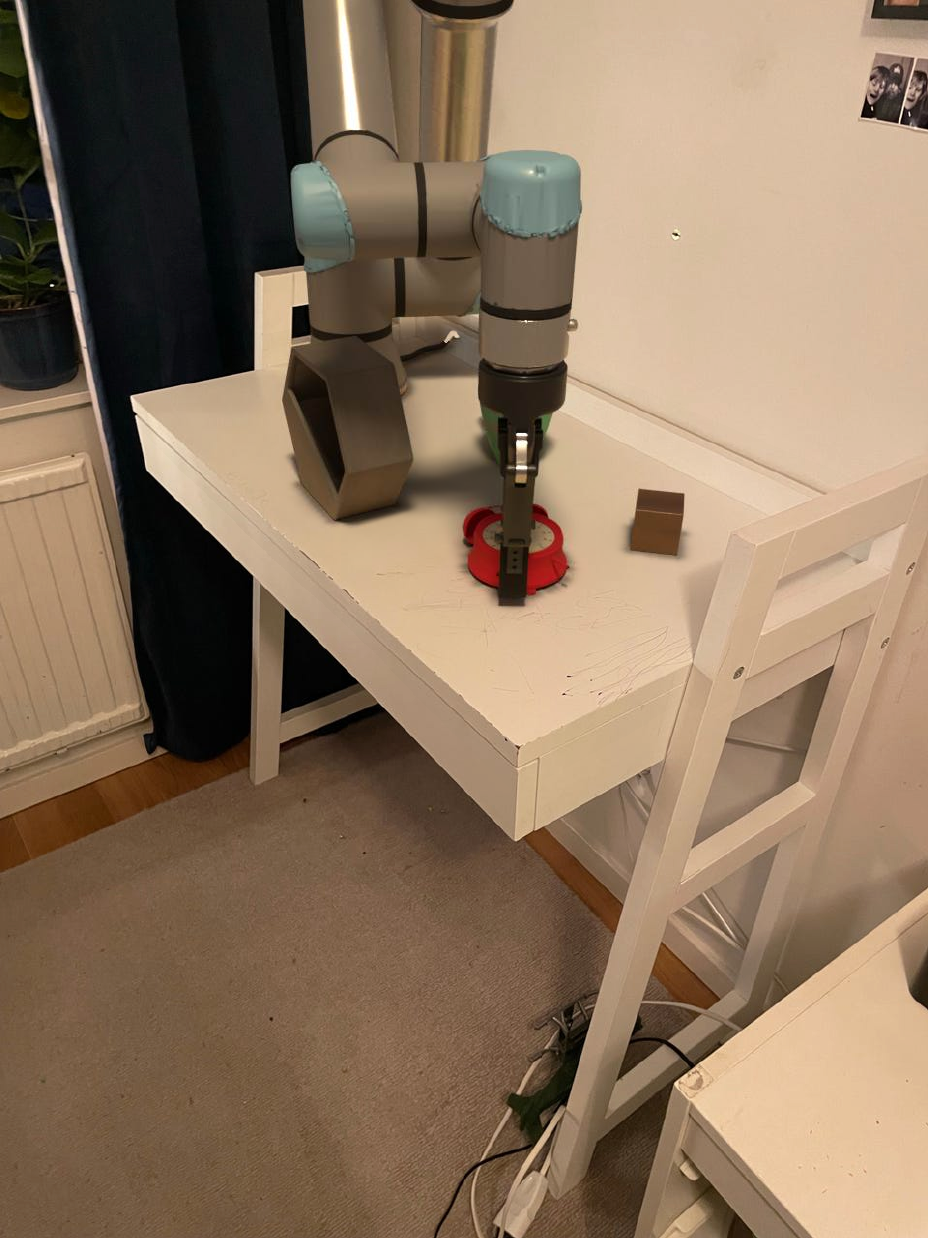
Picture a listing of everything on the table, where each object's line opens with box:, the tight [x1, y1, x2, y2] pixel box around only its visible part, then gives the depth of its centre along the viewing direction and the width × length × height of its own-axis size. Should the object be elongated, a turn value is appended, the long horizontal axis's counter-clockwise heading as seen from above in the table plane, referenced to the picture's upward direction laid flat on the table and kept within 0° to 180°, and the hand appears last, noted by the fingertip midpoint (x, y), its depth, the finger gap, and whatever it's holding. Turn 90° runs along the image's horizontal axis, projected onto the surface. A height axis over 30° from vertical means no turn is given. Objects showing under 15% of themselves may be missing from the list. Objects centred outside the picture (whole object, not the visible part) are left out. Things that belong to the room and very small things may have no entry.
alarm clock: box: [462, 502, 570, 596], centre depth 99 cm, size 10×6×15 cm
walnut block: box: [630, 488, 686, 556], centre depth 102 cm, size 5×5×5 cm
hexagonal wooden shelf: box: [281, 336, 414, 521], centre depth 106 cm, size 17×8×21 cm
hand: (512, 592), depth 92 cm, fingers closed
